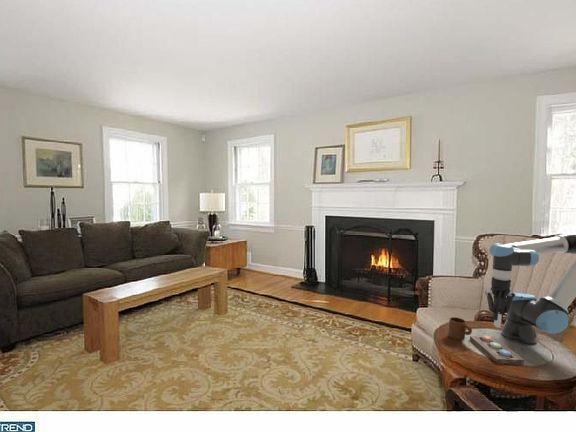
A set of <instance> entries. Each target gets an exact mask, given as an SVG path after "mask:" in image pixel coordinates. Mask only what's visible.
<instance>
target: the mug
mask: <svg viewBox="0 0 576 432" xmlns="http://www.w3.org/2000/svg"><path fill="white" fill-rule="evenodd" d="M466 329H467V330H466ZM472 332H473V329H472V327H471V326H470V325H468V324H467V322H466V320H465V319H463V318H460V317H455V316H453V317H450V318H449V323H448V334H447V335H448V337H449V338H450V339H452V340H454V341H460V342H461V341H464V340H465V337H466V336H471V334H472Z"/></svg>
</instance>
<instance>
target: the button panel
mask: <svg viewBox="0 0 576 432" xmlns="http://www.w3.org/2000/svg"><path fill="white" fill-rule="evenodd" d="M482 336H483V335H481V336H479V335H469V341H470V342H472V343H473V344H474V345H475V346H476V347H477V348H479V349H480V350H481V351H482V352H483V353H484V354H485V355H486V356H488V357H489V358H490V359H491V360H492V361H493V360H494V361H493V362H494V363H496V364H504V363H511V364H512V365H525V359H524V358H522V357H521V356H520V355H518V354H517V353H516V352H514V351H513V350H512V349H510V347H508V346H507V345H505V344H504V343H503V342H501V341H500V340H499V339H497V337H495V336H490V337H491V338H492V342H495V343H498V344H500V345H501V349H503V350H507V351H509V352H510V353H511V356H510V358H503V357H501V356H500V355H499V350H493V349H492V348H490V343H486V342H483V341H482ZM511 364H510V365H511Z"/></svg>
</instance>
